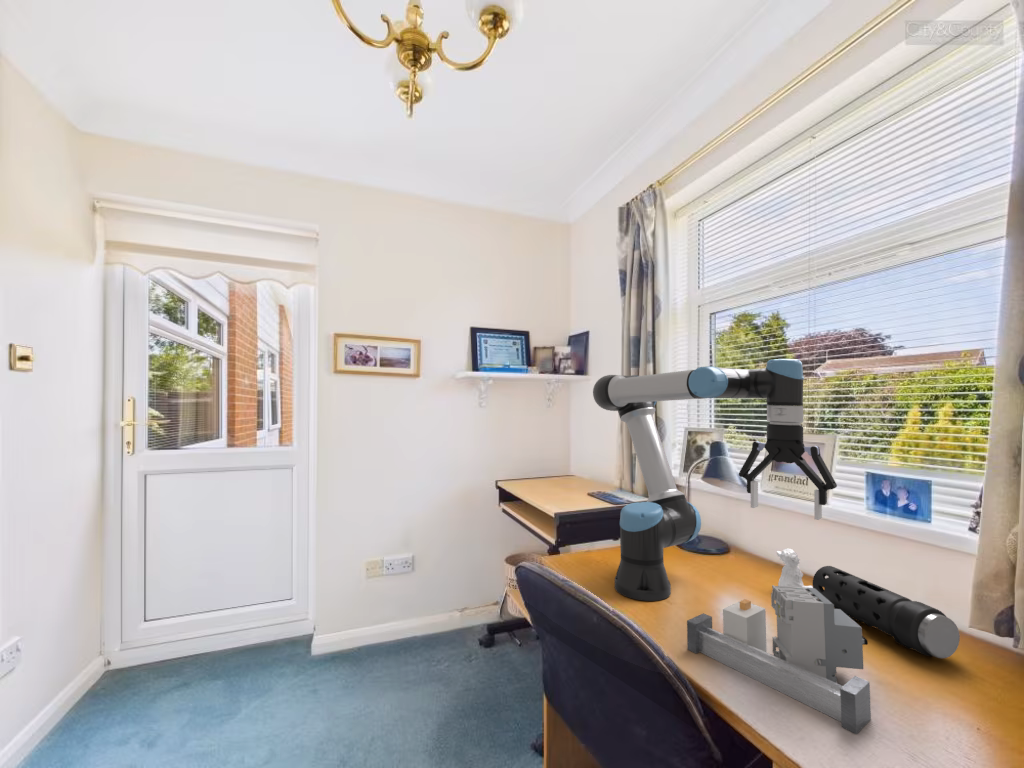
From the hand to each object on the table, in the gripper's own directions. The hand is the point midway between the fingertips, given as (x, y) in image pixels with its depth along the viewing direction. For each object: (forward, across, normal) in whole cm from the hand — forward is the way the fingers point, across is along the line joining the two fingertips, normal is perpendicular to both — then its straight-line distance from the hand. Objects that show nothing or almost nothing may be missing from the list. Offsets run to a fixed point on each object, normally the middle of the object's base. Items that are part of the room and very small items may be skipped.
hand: (784, 512), depth 108 cm
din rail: (+26, +5, -27) cm, 38 cm away
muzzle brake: (+26, +16, +12) cm, 33 cm away
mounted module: (+26, -1, -20) cm, 33 cm away
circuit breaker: (+26, +12, -18) cm, 34 cm away
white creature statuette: (+27, -4, +21) cm, 34 cm away
